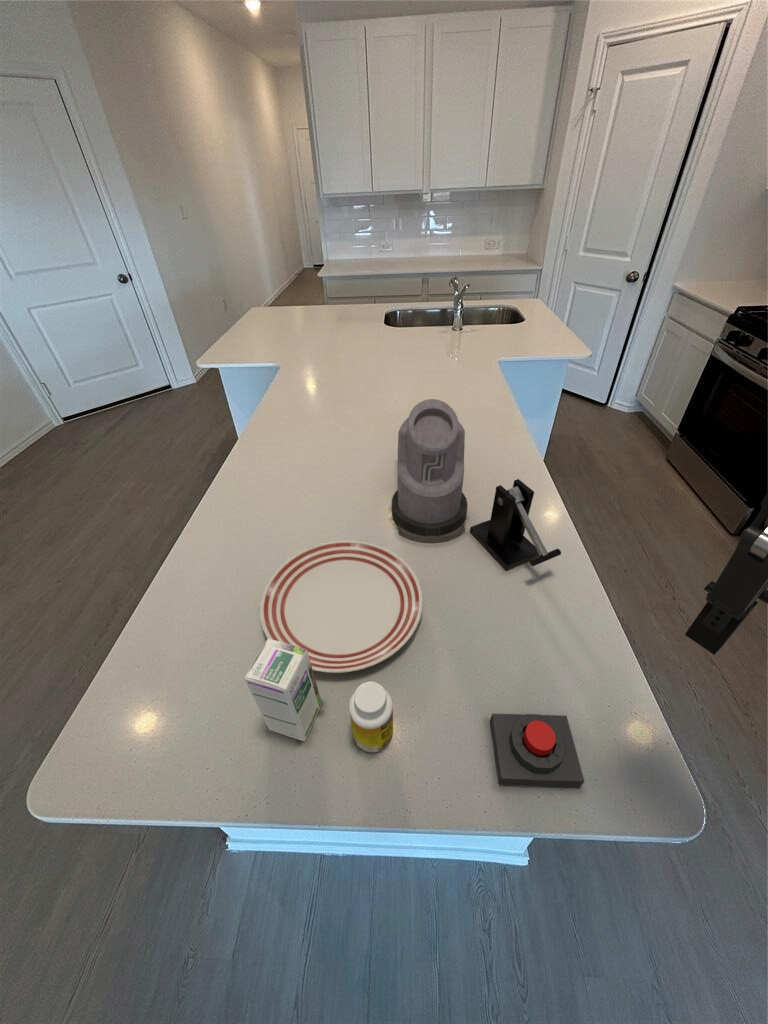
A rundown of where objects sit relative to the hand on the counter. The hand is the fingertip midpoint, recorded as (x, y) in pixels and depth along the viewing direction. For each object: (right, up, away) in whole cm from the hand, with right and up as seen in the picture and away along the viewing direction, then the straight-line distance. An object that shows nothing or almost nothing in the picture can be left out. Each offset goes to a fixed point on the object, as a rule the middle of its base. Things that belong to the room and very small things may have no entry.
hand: (703, 640), depth 41 cm
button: (-11, -17, +14) cm, 24 cm away
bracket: (-6, +6, +46) cm, 47 cm away
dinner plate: (-37, -5, +35) cm, 51 cm away
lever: (-5, +9, +38) cm, 39 cm away
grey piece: (-20, +15, +58) cm, 63 cm away
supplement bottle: (-32, -18, +19) cm, 41 cm away
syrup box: (-43, -17, +21) cm, 51 cm away
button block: (-11, -20, +17) cm, 28 cm away
